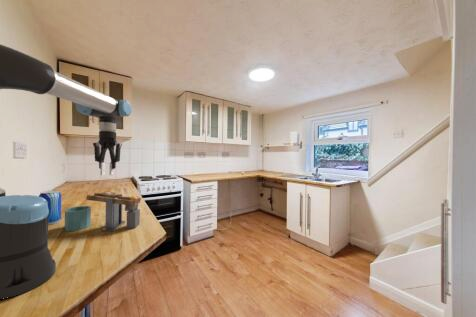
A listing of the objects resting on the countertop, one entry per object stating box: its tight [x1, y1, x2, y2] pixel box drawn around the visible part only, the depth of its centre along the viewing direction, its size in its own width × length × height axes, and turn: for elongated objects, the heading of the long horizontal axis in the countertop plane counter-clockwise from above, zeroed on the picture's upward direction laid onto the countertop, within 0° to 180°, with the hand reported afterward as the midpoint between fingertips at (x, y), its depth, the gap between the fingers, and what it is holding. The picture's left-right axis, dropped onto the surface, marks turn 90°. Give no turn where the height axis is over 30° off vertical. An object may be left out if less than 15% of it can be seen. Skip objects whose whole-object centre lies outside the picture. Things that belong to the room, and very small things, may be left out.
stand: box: [101, 193, 126, 232], centre depth 91 cm, size 11×5×15 cm, turn 6°
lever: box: [85, 191, 141, 212], centre depth 96 cm, size 22×15×6 cm
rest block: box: [126, 208, 141, 229], centre depth 92 cm, size 5×4×8 cm
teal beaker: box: [64, 205, 92, 232], centre depth 90 cm, size 9×9×9 cm
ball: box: [130, 195, 138, 201], centre depth 92 cm, size 3×3×3 cm
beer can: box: [38, 190, 62, 226], centre depth 94 cm, size 8×8×16 cm
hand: (107, 174), depth 99 cm, fingers open, 4 cm apart
